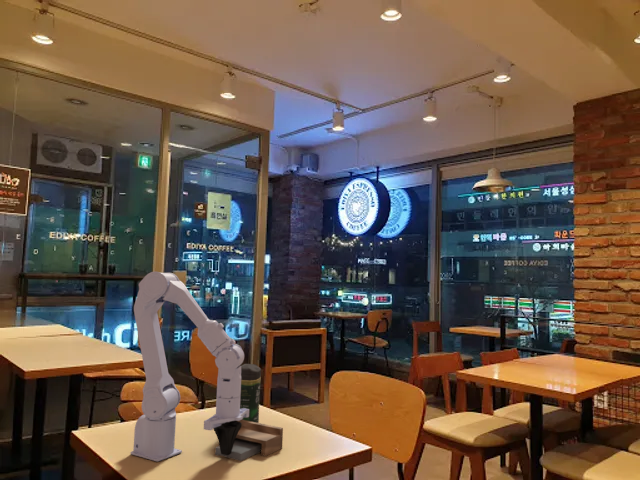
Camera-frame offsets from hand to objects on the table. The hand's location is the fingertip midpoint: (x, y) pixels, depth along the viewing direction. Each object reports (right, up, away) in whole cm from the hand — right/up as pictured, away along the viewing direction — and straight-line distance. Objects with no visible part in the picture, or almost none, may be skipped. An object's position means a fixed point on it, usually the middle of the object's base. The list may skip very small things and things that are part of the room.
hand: (225, 453), depth 118 cm
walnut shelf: (+5, -2, +9) cm, 10 cm away
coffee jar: (+1, -3, +22) cm, 22 cm away
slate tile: (+2, -2, +4) cm, 5 cm away
